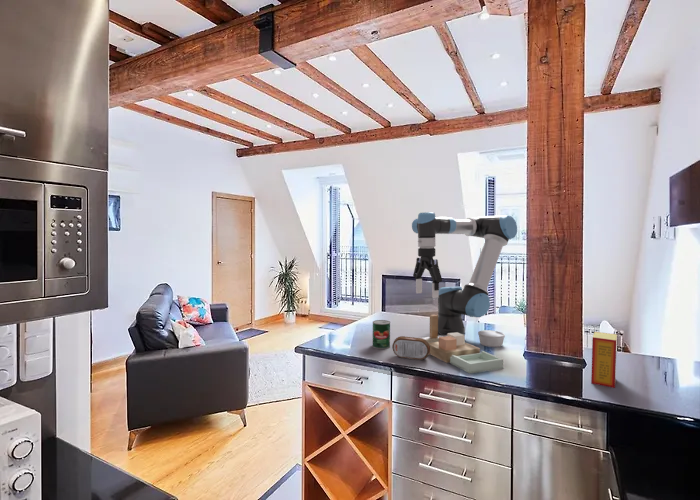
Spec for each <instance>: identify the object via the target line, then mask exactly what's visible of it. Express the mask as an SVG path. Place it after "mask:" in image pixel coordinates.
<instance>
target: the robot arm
mask: <svg viewBox="0 0 700 500" xmlns="http://www.w3.org/2000/svg"><path fill="white" fill-rule="evenodd" d="M411 228H412V231H413V233H415V234H417V247H418V248H417V255H418V257H416V261H415V262H416V263H415V266H414V270H413V274H412V275H413V276H412V277H413V278H415V294H423V275H424V272H425V271H426V270H427V271H428V273H429V274H430V275H429V276H430V277H431V280H432V282H431V288H432V289H431V291H432V292H431V298H432V299H437V315H438V334H441V335H446V336H447V333H455V332H458V333H460V334H463V335H465V332H466V327H465V324H464V321H463V318H462V315H463V316H466V317H467V316H468V317H469V318H482V317H484V316H485V315H486V314H487V313H488V311H489V310H490V307H491V299H490V297H489V292H488V287H489V283H490V282H491V279H492V276H493V274H494V270H495V268H496V266H497V263H498V259H499V257H500V254H501V252H502V249H503V247H504V246H506V245H508V242H509V240H512V239H514V238H515V237H516V236H517V234H518V225H517V221H516V220H515V219H514V217H513V216H512V215H508V214H506V215H505V214H500V215H484V216H477V217H467V218H465V219H463V218H462V219H459V218H458V219H457V218H456V219H455V218H453V217H451V216H450V217H449V216H438V217H437V216H436V213H435V212H431V211H430V212H429V211H427V212H426V211H425V212H420V213H418V215H417V218H415V219H413V220H412V223H411ZM436 234H437V235H439V234H440V235H442V234H443V235H465V236H467V237H476V238H482V239H484V243H483V247H482V249H481V252H480V254H479V255H478V256H479V257H478V260H477V261H476V265H475V267H474V269H473V272H472V274H471V277H470V279H469V283H466V284H465V285H464V287H463V288H462V286H444V287H440V283H441V282H443V278H442V274H441V271H440V267H439V260H438V259H435V258H434V257H436V248H435V247H436Z"/></svg>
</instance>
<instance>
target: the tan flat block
mask: <svg viewBox="0 0 700 500" xmlns="http://www.w3.org/2000/svg"><path fill="white" fill-rule="evenodd" d="M428 344H429V346H430V352H429V354H428V355H431V356H433V357H435V358H437V359H438V360H440V361H441V362H442V361H443V362H444V363H446V364H447V363H450V357H452V355H455V356H461V355H468V354H476V353H481V348H480V347H478V346H475V345H473V344H471V343H467V342H465V345H457V346H456V349H453V350H444V349H442V348H440V347H439V342H432V343H428Z"/></svg>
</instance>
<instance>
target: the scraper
mask: <svg viewBox="0 0 700 500" xmlns="http://www.w3.org/2000/svg"><path fill="white" fill-rule="evenodd" d="M446 336H447V335H445V334H442V335H439V333H438V314H430V315H429V336H426V337H425V336H424V337H421V338H422V339H424V340H426V341H427V342H428V343H432V342H439V337H446Z"/></svg>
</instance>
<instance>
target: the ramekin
mask: <svg viewBox="0 0 700 500" xmlns="http://www.w3.org/2000/svg"><path fill="white" fill-rule="evenodd" d="M477 334H478V339H479V343H480V344H481V345H482V346H484V347H488V348H500V347H503V344H504V340H505V337H506V334H505V333H503V332H501V331H497V330H489V329H484V330H479V331H478V333H477Z"/></svg>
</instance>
